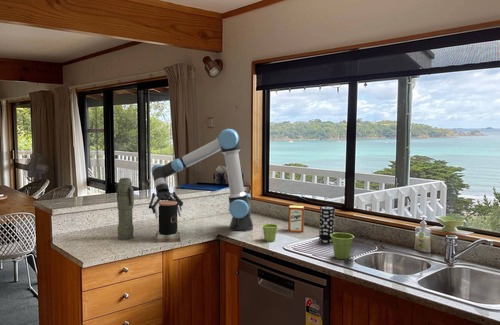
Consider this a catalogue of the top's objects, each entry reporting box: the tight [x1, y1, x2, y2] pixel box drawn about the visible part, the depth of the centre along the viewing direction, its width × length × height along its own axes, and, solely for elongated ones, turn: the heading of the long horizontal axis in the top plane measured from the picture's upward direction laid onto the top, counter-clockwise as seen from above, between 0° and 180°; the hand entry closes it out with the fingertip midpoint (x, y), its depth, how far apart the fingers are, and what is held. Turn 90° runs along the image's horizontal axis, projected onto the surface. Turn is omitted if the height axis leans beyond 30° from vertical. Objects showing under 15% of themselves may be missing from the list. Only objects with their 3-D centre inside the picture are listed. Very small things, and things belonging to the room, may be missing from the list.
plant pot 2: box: [330, 232, 355, 260], centre depth 208 cm, size 12×12×11 cm
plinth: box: [154, 229, 181, 244], centre depth 239 cm, size 14×14×4 cm
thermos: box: [116, 177, 135, 241], centre depth 239 cm, size 9×12×35 cm
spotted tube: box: [318, 206, 336, 245], centre depth 235 cm, size 8×8×20 cm
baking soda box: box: [287, 205, 305, 233], centre depth 260 cm, size 10×6×16 cm
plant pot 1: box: [261, 223, 279, 242], centre depth 239 cm, size 9×9×9 cm
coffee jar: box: [158, 200, 178, 235], centre depth 238 cm, size 11×11×18 cm
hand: (168, 216), depth 236 cm, fingers open, 13 cm apart
